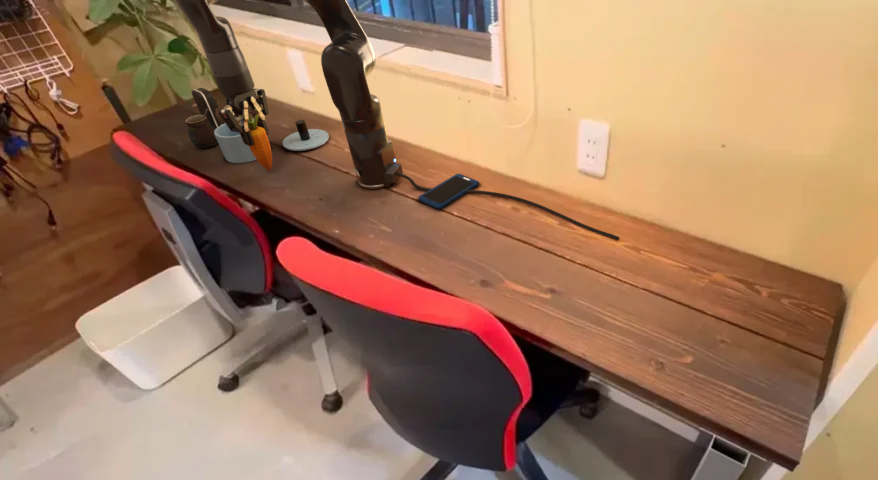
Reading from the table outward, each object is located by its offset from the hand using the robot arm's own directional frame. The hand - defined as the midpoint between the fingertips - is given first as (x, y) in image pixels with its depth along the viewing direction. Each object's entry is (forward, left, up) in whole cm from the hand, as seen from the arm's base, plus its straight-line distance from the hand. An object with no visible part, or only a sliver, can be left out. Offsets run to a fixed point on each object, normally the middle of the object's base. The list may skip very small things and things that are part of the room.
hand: (257, 139), depth 127 cm
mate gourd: (+29, -11, -10) cm, 33 cm away
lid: (+1, -18, -9) cm, 20 cm away
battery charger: (+35, -22, -10) cm, 42 cm away
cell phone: (-49, -1, -10) cm, 50 cm away
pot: (+14, -9, -10) cm, 19 cm away
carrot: (0, 0, -9) cm, 9 cm away
